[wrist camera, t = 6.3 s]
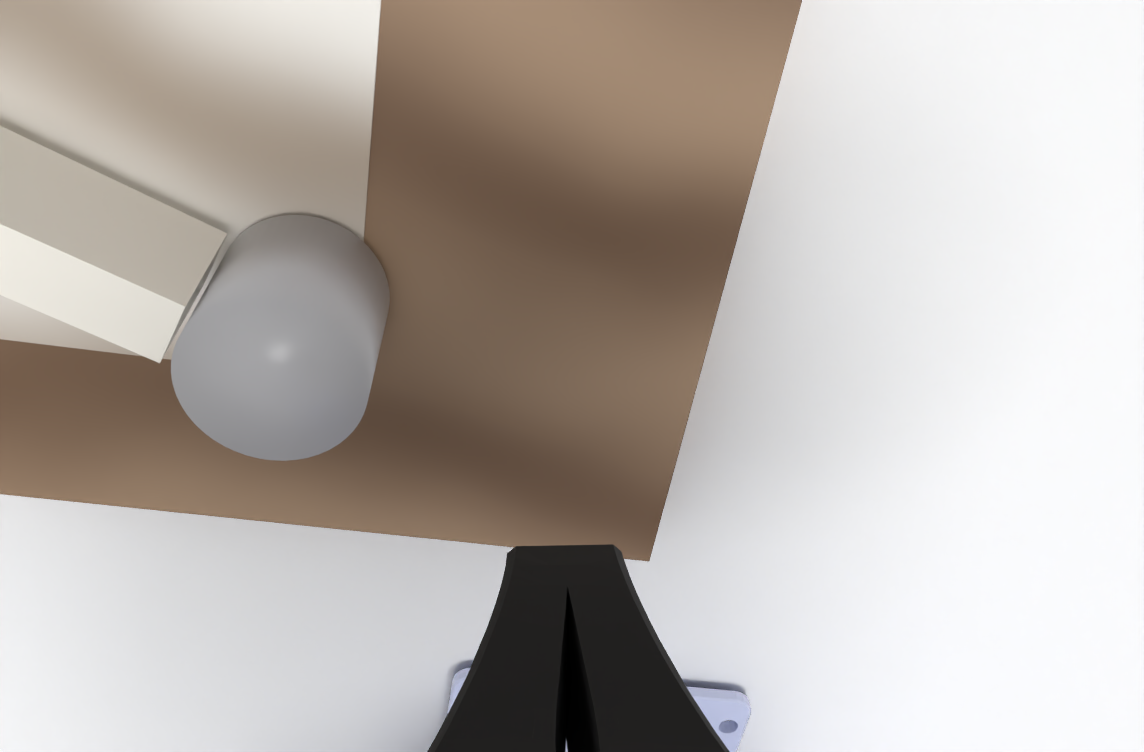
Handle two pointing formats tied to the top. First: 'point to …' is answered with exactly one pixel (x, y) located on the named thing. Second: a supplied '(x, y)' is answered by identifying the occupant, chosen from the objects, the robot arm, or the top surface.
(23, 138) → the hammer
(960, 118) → the top surface
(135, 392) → the brown tray
